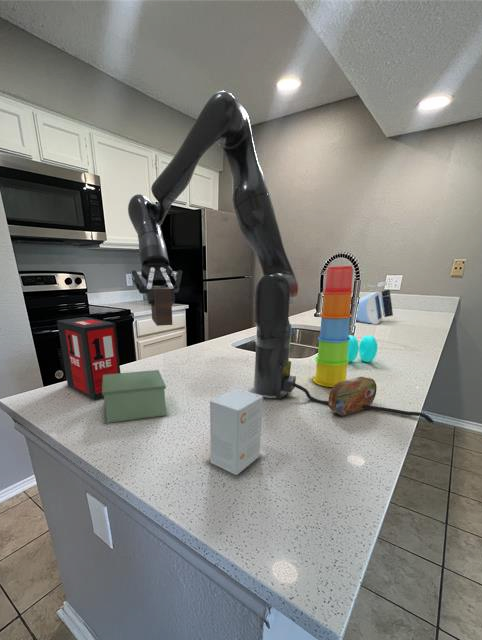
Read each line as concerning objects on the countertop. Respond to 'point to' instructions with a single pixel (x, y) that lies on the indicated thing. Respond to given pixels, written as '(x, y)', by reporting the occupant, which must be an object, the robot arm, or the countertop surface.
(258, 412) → the small box
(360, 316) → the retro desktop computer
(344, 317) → the stacking cups
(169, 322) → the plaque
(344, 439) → the countertop surface
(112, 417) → the toy box
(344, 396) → the tin
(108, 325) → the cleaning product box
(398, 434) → the countertop surface
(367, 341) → the cyan double-lobed piece
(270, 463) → the countertop surface
